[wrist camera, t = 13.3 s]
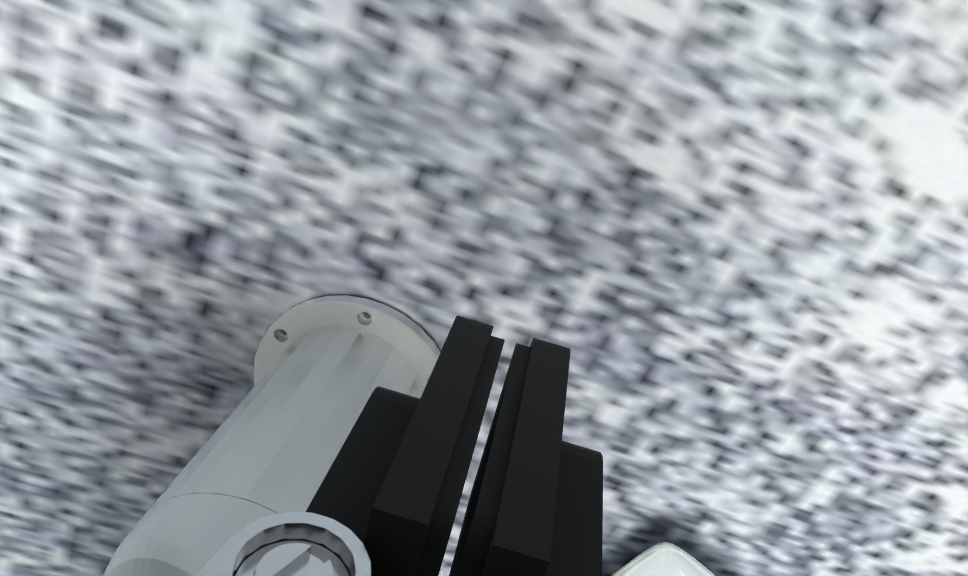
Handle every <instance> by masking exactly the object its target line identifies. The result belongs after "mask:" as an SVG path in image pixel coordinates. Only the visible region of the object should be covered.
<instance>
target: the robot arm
mask: <svg viewBox="0 0 968 576" xmlns="http://www.w3.org/2000/svg"><path fill="white" fill-rule="evenodd" d="M366 312H367V313H369V314H370V315H368V314H367V313H366ZM492 329H493V326H491V325H488V324H484V323H481V322H477V321H474V320H471V319H467V318H464V317H460V316H456V318H455V321H454V323H453V325H452V327H451V330H450V332H449V334H448V337H447V339H446V341H445V343H444V346H443V348H442V350H441V352H440V351H439V349H438V347H437V346H436V344H435V343H434V341H433V340H432V339H431V338H430V337H429V336H428V335H427V334H426V333H425V332H424V331H423V330H422V329H421V327H419V326H418V325H417V324H415V323H414V322H413V321H411V320H410V319H409V318H408V317H406V316H405V315H403V314H402V313H400V312H398V311H396V310H394V309H392V308H390V307H389V306H387V305H384V304H381V303H378V302H375V301H372V300H369V299H366V298H360V297H354V296H347V295H342V296H324V297H320V298H315V299H310V300H308V301H305V302H303V303H301V304H299V305H296V306H294V307H292V308H291V309H290V310H288V311H287V312H286V313H284V314H283V315H282V316H280V317H279V318H278V319H277V320H276V321H275V322H274V323H273V324H272V325H271V327H270V328H269V329H268V330H267V332H266V333H265V335H264V337H263V338H262V340H261V341H260V343H259V346H258V349H257V352H256V354H255V357H254V366H253V381H254V387H253V388H252V389H251V390H250V392H249V393H248V394H247V395H246V396H245V397H244V399H243V400H242V401H241V402H240V403H239V404H238V406H237V407H236V408H235V409H234V410H233V411H232V413H231V414H230V415H229V416H228V417H227V418H226V420H225V421H224V422H223V423H222V424H221V425H220V427H219V428H218V429H217V430H216V431H215V433H214V434H213V435H212V436H211V437H210V438H209V440H208V441H207V442H206V443H205V444H204V445H203V447H202V448H201V449H200V450H199V451H198V452H197V454H196V455H195V456H194V457H193V458H192V459H191V461H190V462H189V463H188V464H187V465H186V466H185V468H184V469H183V470H182V471H181V472H180V473H179V475H178V476H177V477H176V478H175V479H174V480H173V482H172V483H171V484H170V485H169V486H168V487H167V489H166V490H165V491H164V492H163V493H162V495H161V496H160V497H159V498H158V499H157V500H156V501H155V503H154V504H153V505H152V506H151V507H150V508H149V510H148V511H147V512H146V513H145V514H144V516H143V517H142V518H141V519H140V520H139V521H138V523H137V524H136V525H135V526H134V527H133V529H132V530H131V531H130V532H129V533H128V535H127V536H126V537H125V539H124V540H123V541H122V543H121V544H120V545H119V547H118V548H117V550H116V552H115V553H114V555H113V557H112V559H111V561H110V563H109V564H108V566H107V568H106V570H105V573H104V575H103V576H438V574H439V571H440V568H441V564H442V561H443V558H444V554H445V551H446V547H447V544H448V540H449V537H450V533H451V530H452V526H453V523H454V519H455V516H456V512H457V509H458V505H459V502H460V498H461V495H462V491H463V487H464V484H465V480H466V477H467V473H468V469H469V466H470V462H471V459H472V455H473V452H474V448H475V444H476V441H477V437H478V434H479V430H480V427H481V423H482V419H483V416H484V412H485V409H486V405H487V402H488V398H489V394H490V391H491V387H492V384H493V380H494V376H495V373H496V369H497V366H498V362H499V359H500V355H501V351H502V348H503V344H504V341H505V340H504V339H500V338H497V337H493V336H491V333H492ZM569 360H570V348H566V347H563V346H560V345H556V344H553V343H549V342H546V341H542V340H539V339H536V338H533V340H532V343H531V346H530V347H528V346H524V345H521V344H517V343H516V346H515V349H514V352H513V356H512V359H511V362H510V366H509V369H508V372H507V375H506V379H505V382H504V385H503V389H502V392H501V395H500V399H499V402H498V405H497V409H496V412H495V415H494V419H493V422H492V425H491V428H490V432H489V435H488V438H487V442H486V445H485V448H484V452H483V455H482V458H481V462H480V465H479V468H478V472H477V475H476V478H475V481H474V485H473V488H472V492H471V495H470V499H469V502H468V506H467V510H466V513H465V517H464V521H463V525H462V529H461V532H460V536H459V540H458V544H457V548H456V552H455V555H454V559H453V563H452V567H451V571H450V574H449V576H602V521H603V457H602V454H601V453H600V452H598V451H594V450H591V449H588V448H584V447H581V446H577V445H574V444H571V443H567V442H564V441H562V432H563V422H564V412H565V401H566V391H567V381H568V371H569Z"/></svg>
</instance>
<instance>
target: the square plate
mask: <svg viewBox="0 0 968 576" xmlns="http://www.w3.org/2000/svg"><path fill="white" fill-rule="evenodd" d="M611 576H715V575H714V574H713V573H712V572H711V571H710V570H708V569H707V568H706V567H705V566H703V565H702V564H701V563H700V562H699V561H697V560H696V559H695V558H694V557H692V556H691V555H690V554H688V553H687V552H685V551H684V550H682V549H681V548H679V547H678V546H676V545H674V544H671V543H667V542H663V543H658V544H656V545H654V546H652V547H651V548H649V549H647V550H646V551H644V552H643V553H641V554H640V555H638V556H637V557H635V558H634V559H633V560H631V561H630V562H629V563H627V564H626V565H625V566H623V567H622V568H621V569H619V570H618V571H617V572H615V573H614V574H613V575H611Z"/></svg>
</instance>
